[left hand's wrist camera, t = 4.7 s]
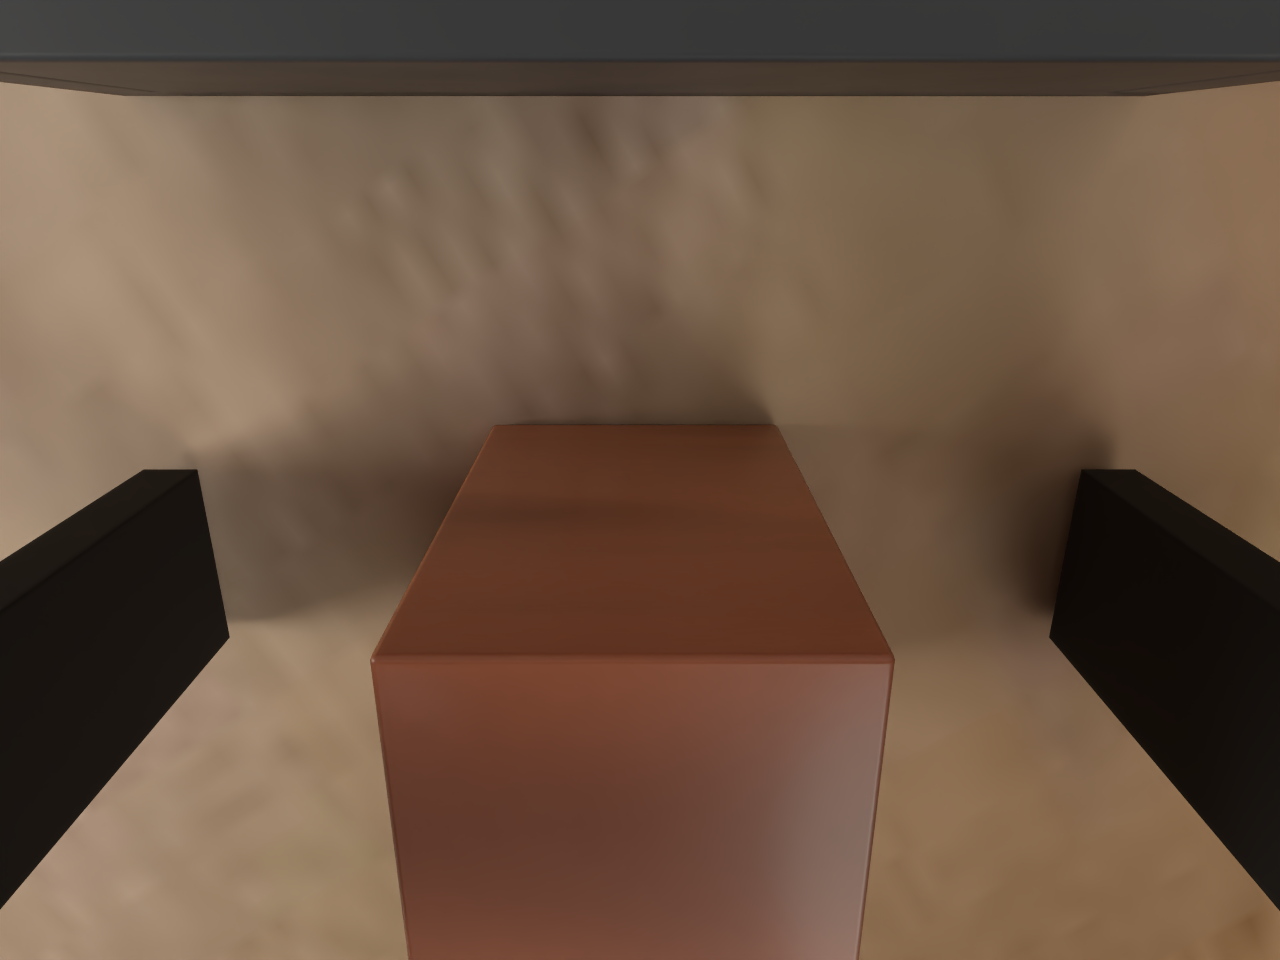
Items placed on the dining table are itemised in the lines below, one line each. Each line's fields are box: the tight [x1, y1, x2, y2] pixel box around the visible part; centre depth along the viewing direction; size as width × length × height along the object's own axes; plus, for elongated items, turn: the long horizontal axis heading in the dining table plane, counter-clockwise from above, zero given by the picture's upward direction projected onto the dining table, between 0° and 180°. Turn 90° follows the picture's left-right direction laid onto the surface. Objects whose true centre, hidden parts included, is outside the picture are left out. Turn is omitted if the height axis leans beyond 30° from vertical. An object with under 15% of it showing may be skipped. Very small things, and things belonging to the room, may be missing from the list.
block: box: [370, 425, 895, 960], centre depth 10 cm, size 4×4×6 cm
